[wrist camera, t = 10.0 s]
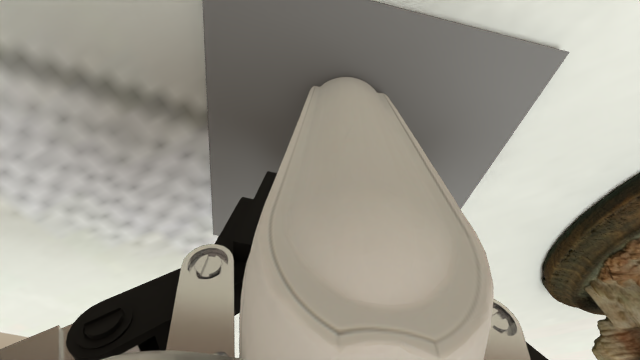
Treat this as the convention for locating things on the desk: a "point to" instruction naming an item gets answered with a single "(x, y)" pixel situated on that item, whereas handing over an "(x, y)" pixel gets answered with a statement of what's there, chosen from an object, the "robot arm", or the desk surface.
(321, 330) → the photo printer
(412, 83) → the mat
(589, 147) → the desk surface
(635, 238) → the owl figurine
